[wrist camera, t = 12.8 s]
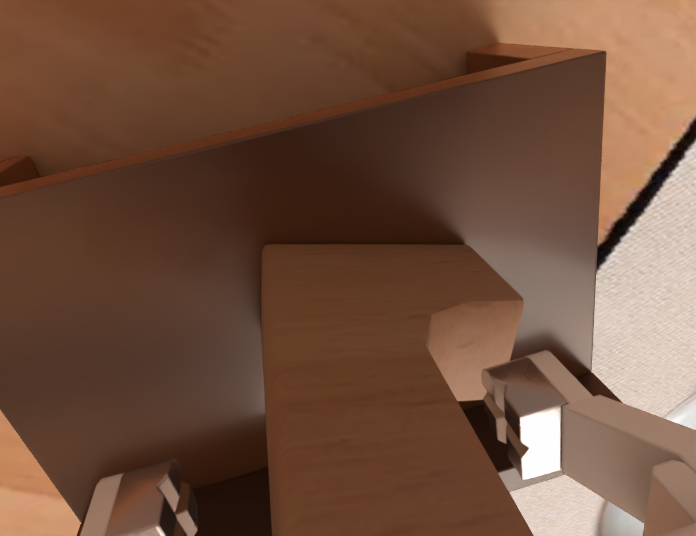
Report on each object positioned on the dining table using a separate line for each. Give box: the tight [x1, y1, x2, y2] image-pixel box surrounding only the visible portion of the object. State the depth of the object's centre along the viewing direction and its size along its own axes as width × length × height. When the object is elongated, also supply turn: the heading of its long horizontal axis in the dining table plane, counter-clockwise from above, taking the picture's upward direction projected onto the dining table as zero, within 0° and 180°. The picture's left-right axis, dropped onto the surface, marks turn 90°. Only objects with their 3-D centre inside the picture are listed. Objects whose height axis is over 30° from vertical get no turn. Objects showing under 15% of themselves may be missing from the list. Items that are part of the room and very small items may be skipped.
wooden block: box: [261, 244, 533, 536], centre depth 9 cm, size 7×3×15 cm, turn 85°
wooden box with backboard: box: [0, 43, 622, 536], centre depth 18 cm, size 13×20×10 cm, turn 101°
